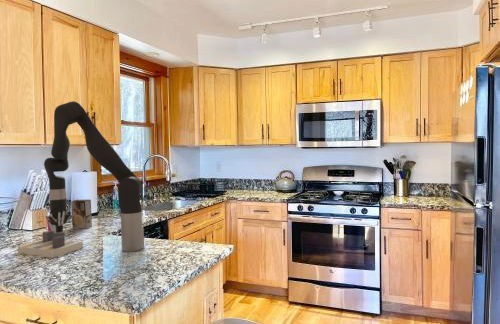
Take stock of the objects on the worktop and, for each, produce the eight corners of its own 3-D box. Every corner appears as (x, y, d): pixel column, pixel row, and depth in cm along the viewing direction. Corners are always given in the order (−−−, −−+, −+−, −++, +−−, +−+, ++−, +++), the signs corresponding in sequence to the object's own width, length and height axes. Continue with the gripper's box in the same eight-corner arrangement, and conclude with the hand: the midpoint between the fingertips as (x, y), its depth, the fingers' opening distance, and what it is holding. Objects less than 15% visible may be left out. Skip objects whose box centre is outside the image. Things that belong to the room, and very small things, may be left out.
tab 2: (60, 242, 173) (59, 231, 173) (64, 243, 172) (64, 232, 172) (53, 244, 170) (53, 233, 170) (58, 245, 169) (57, 234, 169)
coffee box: (92, 226, 216) (91, 199, 215) (86, 228, 210) (85, 201, 209) (78, 226, 217) (77, 199, 216) (71, 228, 211) (70, 201, 210)
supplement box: (63, 234, 196) (62, 213, 195) (60, 237, 190) (59, 215, 190) (51, 235, 195) (50, 214, 194) (48, 238, 189) (47, 216, 188)
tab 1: (49, 241, 176) (49, 230, 176) (54, 241, 175) (53, 231, 175) (43, 243, 173) (42, 232, 173) (47, 243, 172) (47, 232, 171)
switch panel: (49, 243, 179) (49, 237, 179) (82, 247, 170) (82, 241, 170) (17, 252, 164) (17, 245, 164) (52, 257, 156) (52, 250, 155)
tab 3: (59, 247, 165) (59, 236, 165) (64, 248, 164) (64, 236, 164) (52, 249, 162) (52, 237, 162) (57, 250, 161) (57, 238, 160)
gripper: (64, 195, 186) (65, 229, 187) (40, 199, 174) (41, 235, 175) (74, 196, 183) (76, 230, 184) (51, 200, 171) (53, 236, 172)
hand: (59, 232), depth 179 cm, fingers closed
